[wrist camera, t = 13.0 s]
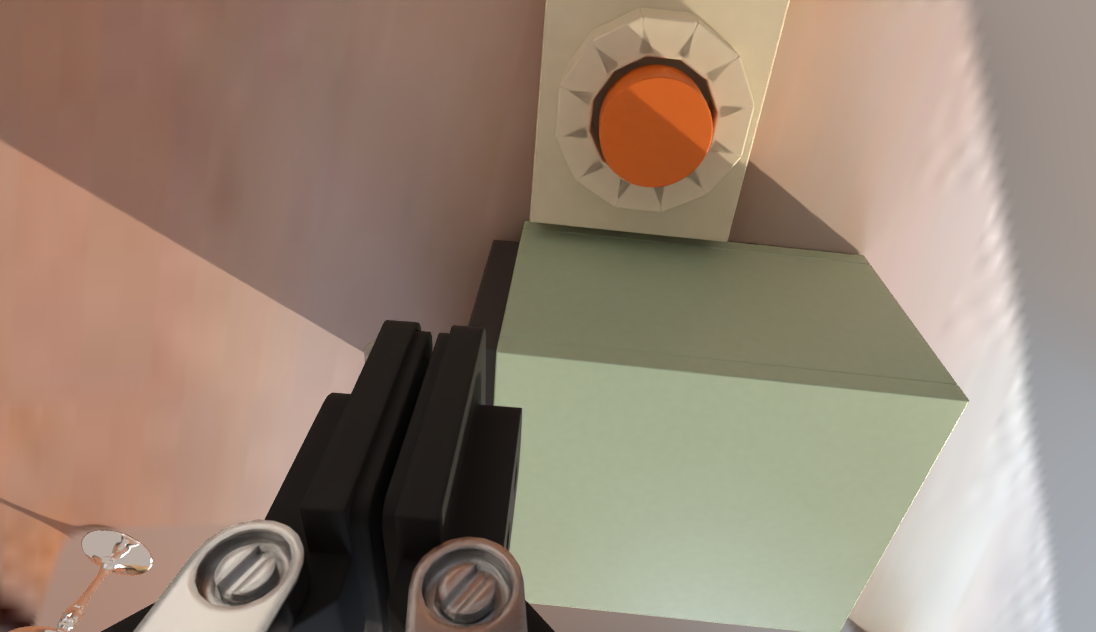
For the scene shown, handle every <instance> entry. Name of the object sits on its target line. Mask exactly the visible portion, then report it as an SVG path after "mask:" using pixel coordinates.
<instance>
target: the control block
mask: <svg viewBox="0 0 1096 632" xmlns="http://www.w3.org/2000/svg"><path fill="white" fill-rule="evenodd" d="M789 2H790V0H546V5H545V19H544V32H543V45H542V59H541V72H540V85H539V99H538V112H537V125H536V139H535V152H534V165H533V179H532V192H531V205H530V219H529V220H530V222H536V223H546V224H556V225H565V226H575V227H585V228H595V229H604V230H614V231H624V232H633V233H643V234H653V235H662V236H672V237H682V238H691V239H701V240H711V241H720V242H727V241H728V238H729V234H730V230H731V226H732V222H733V219H734V215H735V211H736V207H737V203H738V199H739V195H740V191H741V188H742V184H743V180H744V176H745V172H746V168H747V164H748V160H749V157H750V153H751V149H752V145H753V141H754V137H755V133H756V129H757V126H758V122H759V118H760V114H761V110H762V106H763V102H764V98H765V95H766V91H767V87H768V83H769V79H770V75H771V71H772V67H773V64H774V60H775V56H776V52H777V48H778V44H779V40H780V36H781V33H782V29H783V25H784V21H785V17H786V13H787V9H788V5H789ZM653 64H659V65H667V66H671V67H674V68H676V69H678V70H680V71H682V72H684V73H685V74H687V75H688V76H689V77H690V78H691V79H692V80H693V81H694V82H695V83H696V85H697V86H698V88H699V89H700V91H701V93H702V95H703V97H704V99H705V101H706V103H707V105H708V107H709V110H710V112H711V116H712V122H713V134H712V141H711V144H710V147H709V150H708V152H707V154H706V156H705V158H704V159H703V161H702V162H701V163H700V165H699V166H698V167H697V168H696V169H695V170H694V171H693V172H692V173H691V174H690V175H688V176H687V177H685V178H684V179H682V180H680V181H678V182H676V183H674V184H671V185H668V186H663V187H654V188H652V187H642V186H637V185H634V184H631V183H629V182H627V181H625V180H624V179H622V178H620V177H619V176H618V175H617V174H616V173H615V172H614V171H613V170H612V169H611V168H610V167H609V165H608V164H607V162H606V160H605V158H604V156H603V154H602V151H601V146H600V139H599V115H600V109H601V105H602V102H603V100H604V98H605V95H606V94H607V92H608V90H609V89H610V87H611V86H612V85H613V84H614V83H615V82H616V81H617V80H618V79H619V78H620V77H621V76H623V75H624V74H626V73H627V72H629V71H631V70H633V69H635V68H638V67H641V66H645V65H653Z"/></svg>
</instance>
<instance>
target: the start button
mask: <svg viewBox="0 0 1096 632" xmlns="http://www.w3.org/2000/svg"><path fill="white" fill-rule="evenodd" d="M712 134H713V122H712V116H711V112H710V110H709V107H708V105H707V103H706V101H705V99H704V97H703V95H702V93H701V91H700V89H699V88H698V86H697V85H696V83H695V82H694V81H693V80H692V79H691V78H690V77H689V76H688V75H687V74H685V73H684V72H682V71H680V70H678V69H676V68H674V67H671V66H667V65H659V64H653V65H645V66H641V67H638V68H635V69H633V70H631V71H629V72H627V73H626V74H624V75H623V76H621V77H620V78H619V79H618V80H617V81H616V82H615V83H614V84H613V85H612V86H611V87H610V89H609V90H608V92H607V94H606V95H605V98H604V100H603V102H602V105H601V109H600V115H599V139H600V146H601V151H602V154H603V156H604V158H605V160H606V162H607V164H608V165H609V167H610V168H611V169H612V170H613V171H614V172H615V173H616V174H617V175H618V176H619V177H620V178H622V179H624V180H625V181H627V182H629V183H631V184H634V185H637V186H642V187H652V188H654V187H663V186H668V185H671V184H674V183H676V182H678V181H680V180H682V179H684V178H685V177H687V176H688V175H690V174H691V173H692V172H693V171H694V170H695V169H696V168H697V167H698V166H699V165H700V163H701V162H702V161H703V159H704V158H705V156H706V154H707V152H708V150H709V147H710V144H711V141H712Z"/></svg>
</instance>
